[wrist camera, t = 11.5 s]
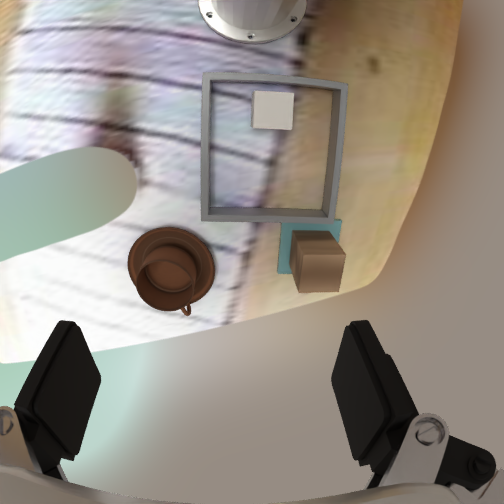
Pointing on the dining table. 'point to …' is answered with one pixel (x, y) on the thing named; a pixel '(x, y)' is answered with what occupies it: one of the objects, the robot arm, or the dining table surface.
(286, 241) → the pad
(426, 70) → the dining table surface
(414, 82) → the dining table surface
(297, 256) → the walnut block
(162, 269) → the cup and saucer
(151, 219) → the dining table surface
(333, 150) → the grey square frame
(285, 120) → the pale grey block
